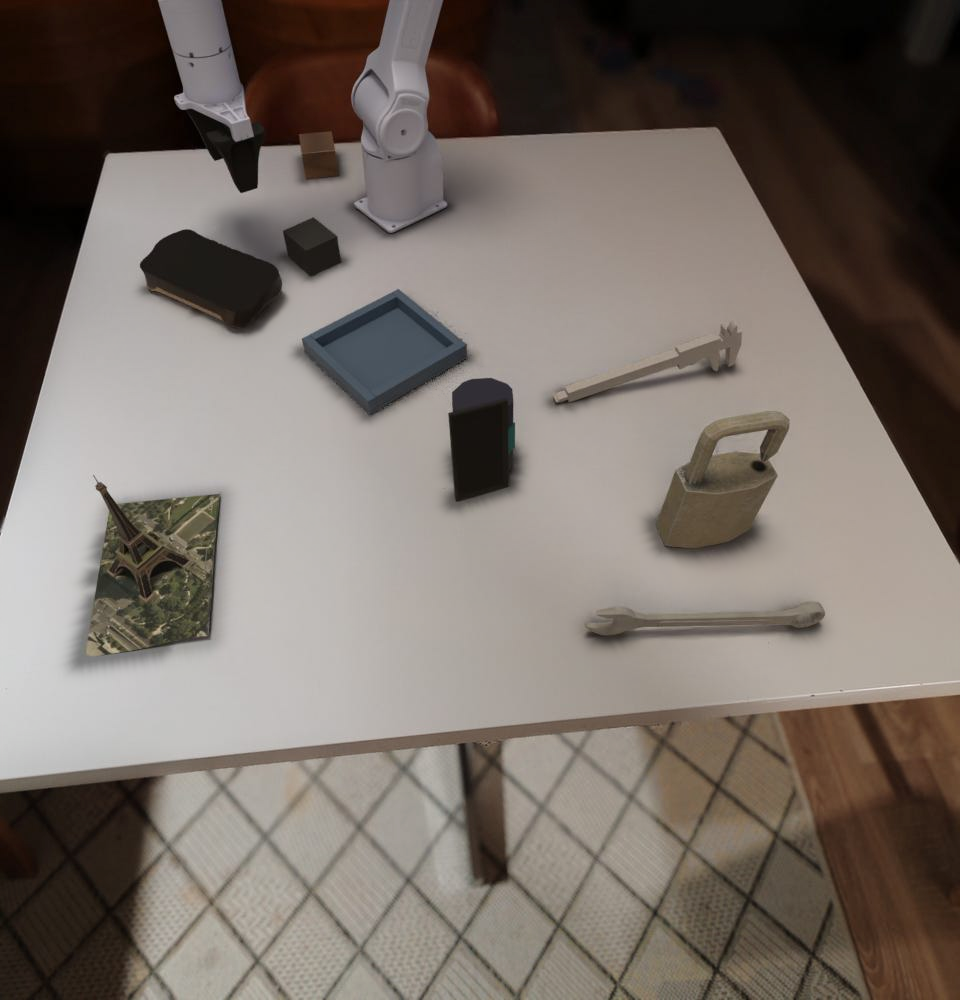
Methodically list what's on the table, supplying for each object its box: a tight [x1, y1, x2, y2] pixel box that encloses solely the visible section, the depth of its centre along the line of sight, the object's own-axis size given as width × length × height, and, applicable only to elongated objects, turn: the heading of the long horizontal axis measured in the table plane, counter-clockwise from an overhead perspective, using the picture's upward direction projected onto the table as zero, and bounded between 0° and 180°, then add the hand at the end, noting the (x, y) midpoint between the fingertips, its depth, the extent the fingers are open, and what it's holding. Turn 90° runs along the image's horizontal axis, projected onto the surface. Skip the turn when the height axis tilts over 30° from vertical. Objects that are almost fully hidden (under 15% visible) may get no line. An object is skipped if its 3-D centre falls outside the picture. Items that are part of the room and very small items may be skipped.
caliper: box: [552, 319, 743, 404], centre depth 79 cm, size 20×1×6 cm, turn 107°
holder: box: [301, 288, 468, 415], centre depth 83 cm, size 13×12×2 cm
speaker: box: [447, 377, 516, 502], centre depth 71 cm, size 8×6×10 cm
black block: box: [282, 216, 342, 277], centre depth 92 cm, size 4×5×4 cm
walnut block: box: [298, 130, 340, 180], centre depth 104 cm, size 4×5×4 cm
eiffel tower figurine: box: [85, 474, 221, 657], centre depth 62 cm, size 15×10×13 cm
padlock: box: [655, 410, 791, 549], centre depth 65 cm, size 4×8×15 cm, turn 103°
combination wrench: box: [584, 601, 826, 636], centre depth 63 cm, size 4×1×20 cm
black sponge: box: [139, 228, 283, 329], centre depth 88 cm, size 16×8×4 cm, turn 59°
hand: (234, 173), depth 87 cm, fingers open, 7 cm apart
